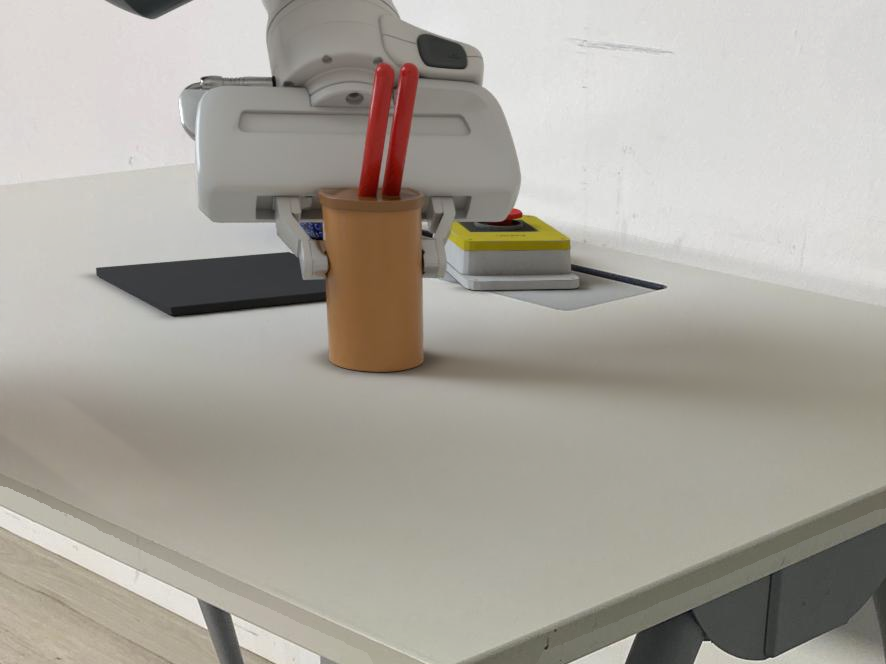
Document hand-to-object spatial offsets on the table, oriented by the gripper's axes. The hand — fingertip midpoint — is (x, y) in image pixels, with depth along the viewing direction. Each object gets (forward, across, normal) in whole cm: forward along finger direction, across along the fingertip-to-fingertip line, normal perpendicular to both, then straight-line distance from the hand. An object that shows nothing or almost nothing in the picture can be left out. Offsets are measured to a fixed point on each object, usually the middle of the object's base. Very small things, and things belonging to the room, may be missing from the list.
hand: (376, 273), depth 88 cm
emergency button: (-15, +15, +23) cm, 31 cm away
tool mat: (-12, -7, +20) cm, 24 cm away
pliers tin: (+3, 0, +4) cm, 5 cm away
